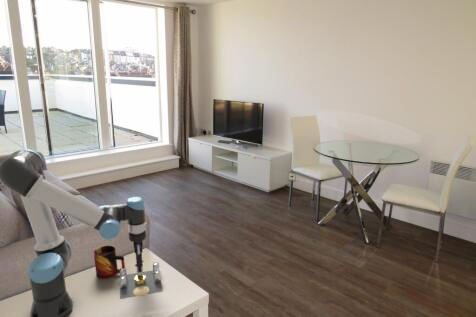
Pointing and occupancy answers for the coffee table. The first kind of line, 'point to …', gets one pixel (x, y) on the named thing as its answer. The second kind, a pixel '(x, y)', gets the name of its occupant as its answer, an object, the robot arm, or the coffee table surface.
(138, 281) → the nut
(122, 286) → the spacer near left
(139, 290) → the mat
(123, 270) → the spacer far left
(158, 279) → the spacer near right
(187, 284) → the coffee table surface
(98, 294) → the coffee table surface
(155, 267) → the spacer far right
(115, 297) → the coffee table surface
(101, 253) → the mug
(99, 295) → the coffee table surface
